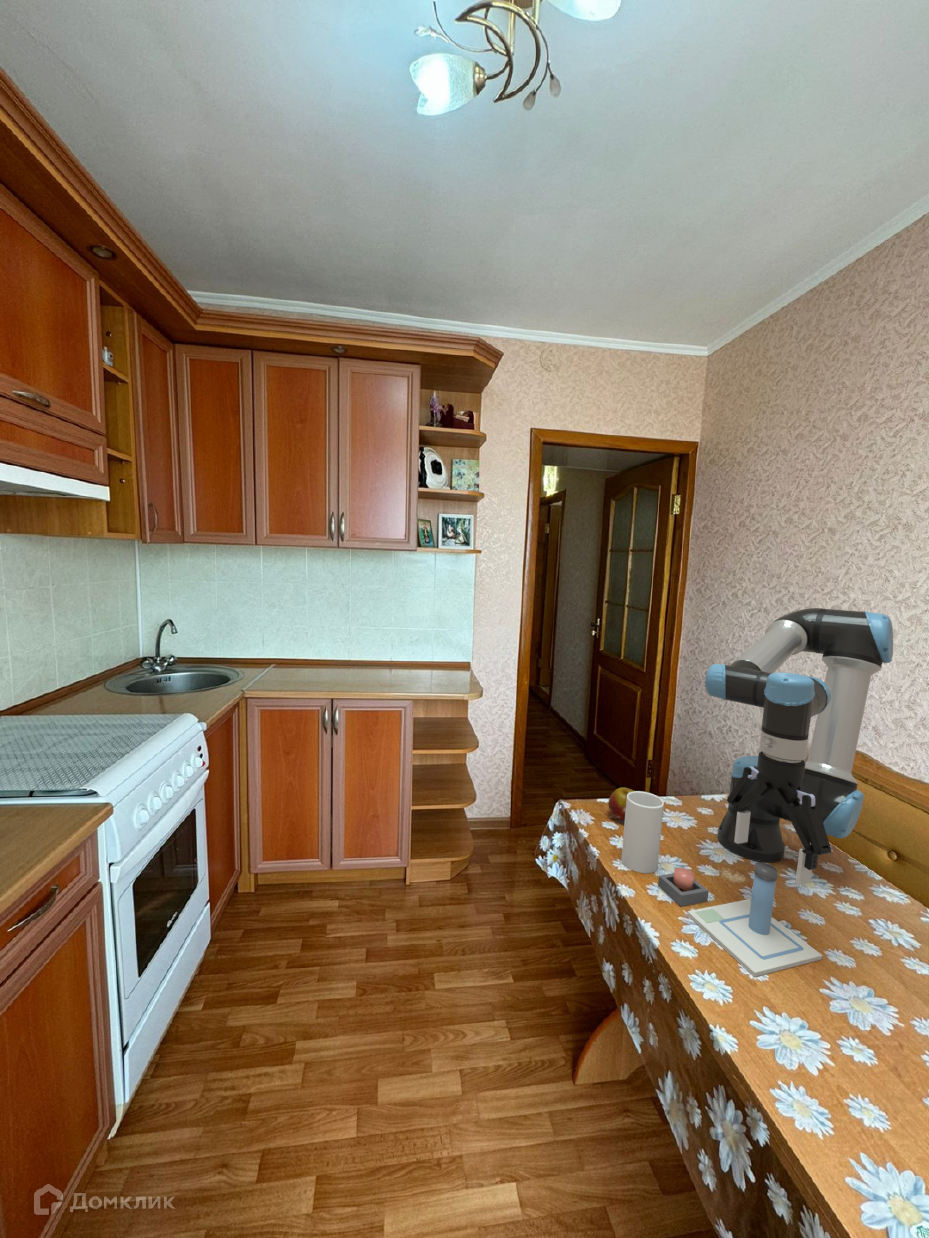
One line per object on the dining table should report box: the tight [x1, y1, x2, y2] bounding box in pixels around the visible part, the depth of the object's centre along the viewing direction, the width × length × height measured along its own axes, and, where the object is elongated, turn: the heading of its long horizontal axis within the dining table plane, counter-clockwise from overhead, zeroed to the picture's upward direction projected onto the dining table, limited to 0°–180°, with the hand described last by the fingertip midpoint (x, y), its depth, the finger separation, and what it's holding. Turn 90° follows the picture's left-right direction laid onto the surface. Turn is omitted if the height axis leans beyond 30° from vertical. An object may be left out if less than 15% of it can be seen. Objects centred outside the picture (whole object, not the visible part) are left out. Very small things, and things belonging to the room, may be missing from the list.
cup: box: [620, 790, 665, 874], centre depth 119 cm, size 8×8×16 cm
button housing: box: [657, 872, 709, 907], centre depth 109 cm, size 7×7×2 cm
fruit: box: [608, 787, 635, 822], centre depth 141 cm, size 10×9×8 cm
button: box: [673, 867, 695, 891], centre depth 108 cm, size 4×4×2 cm
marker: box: [748, 861, 779, 935], centre depth 97 cm, size 4×4×12 cm
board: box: [686, 899, 823, 978], centre depth 97 cm, size 16×16×1 cm
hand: (769, 861), depth 97 cm, fingers open, 13 cm apart
